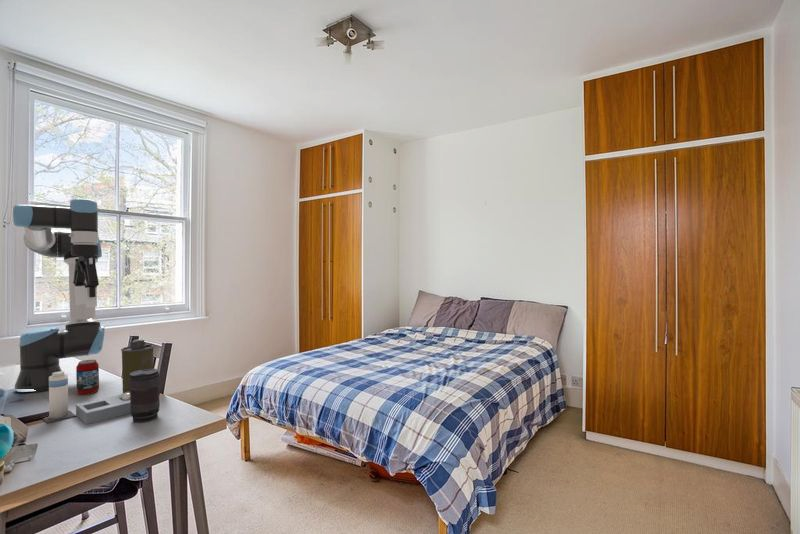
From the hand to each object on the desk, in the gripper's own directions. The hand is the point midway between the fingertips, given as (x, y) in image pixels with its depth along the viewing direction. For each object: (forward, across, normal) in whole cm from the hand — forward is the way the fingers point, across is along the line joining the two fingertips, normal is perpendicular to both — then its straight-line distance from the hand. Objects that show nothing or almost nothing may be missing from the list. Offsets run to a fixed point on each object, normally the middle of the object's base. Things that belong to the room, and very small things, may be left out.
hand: (86, 305), depth 140 cm
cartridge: (+34, +6, -9) cm, 36 cm away
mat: (+35, +6, -9) cm, 36 cm away
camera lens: (+35, +29, +8) cm, 46 cm away
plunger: (+34, +14, +8) cm, 37 cm away
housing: (+35, +14, +3) cm, 38 cm away
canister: (+35, -1, +16) cm, 38 cm away
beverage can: (+35, -17, +4) cm, 39 cm away
